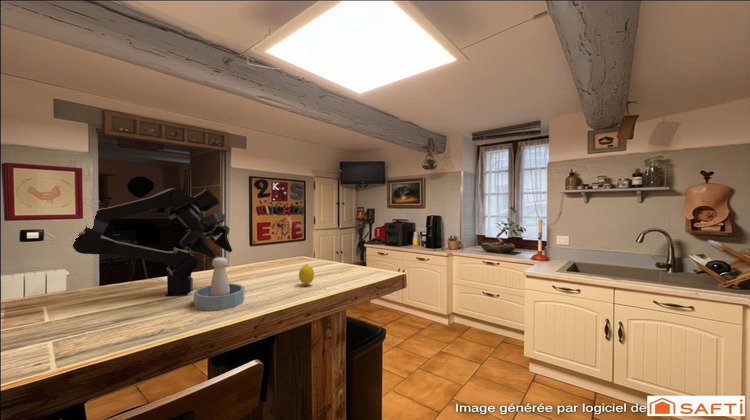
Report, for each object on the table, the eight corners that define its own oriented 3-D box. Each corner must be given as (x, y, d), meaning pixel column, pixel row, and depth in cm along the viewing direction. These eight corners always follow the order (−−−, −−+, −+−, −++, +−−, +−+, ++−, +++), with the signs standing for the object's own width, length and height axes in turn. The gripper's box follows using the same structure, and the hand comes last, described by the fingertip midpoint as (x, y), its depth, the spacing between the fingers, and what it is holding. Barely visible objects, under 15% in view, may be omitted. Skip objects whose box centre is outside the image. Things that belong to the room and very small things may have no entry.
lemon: (310, 288, 116) (310, 266, 116) (296, 286, 117) (296, 265, 117) (316, 283, 121) (316, 263, 121) (302, 282, 122) (302, 262, 122)
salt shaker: (210, 297, 100) (210, 256, 100) (230, 295, 103) (230, 255, 102) (208, 303, 95) (208, 260, 94) (229, 301, 97) (229, 259, 97)
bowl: (188, 312, 90) (188, 298, 90) (202, 296, 104) (201, 284, 103) (240, 308, 94) (240, 295, 94) (246, 294, 107) (246, 282, 107)
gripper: (189, 205, 96) (223, 242, 96) (224, 203, 115) (253, 234, 114) (165, 229, 98) (198, 266, 97) (204, 223, 116) (232, 254, 116)
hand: (223, 254), depth 106 cm, fingers open, 9 cm apart
